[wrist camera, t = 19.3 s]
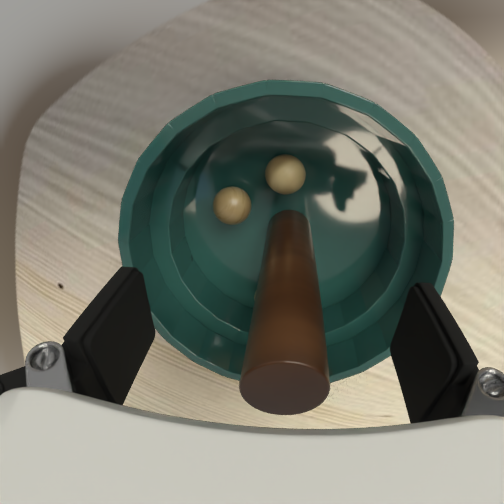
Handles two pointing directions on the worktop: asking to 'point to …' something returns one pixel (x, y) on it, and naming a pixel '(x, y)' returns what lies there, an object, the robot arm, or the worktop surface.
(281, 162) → the bead
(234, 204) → the bead
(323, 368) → the stick
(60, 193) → the worktop surface
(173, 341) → the mixing bowl
